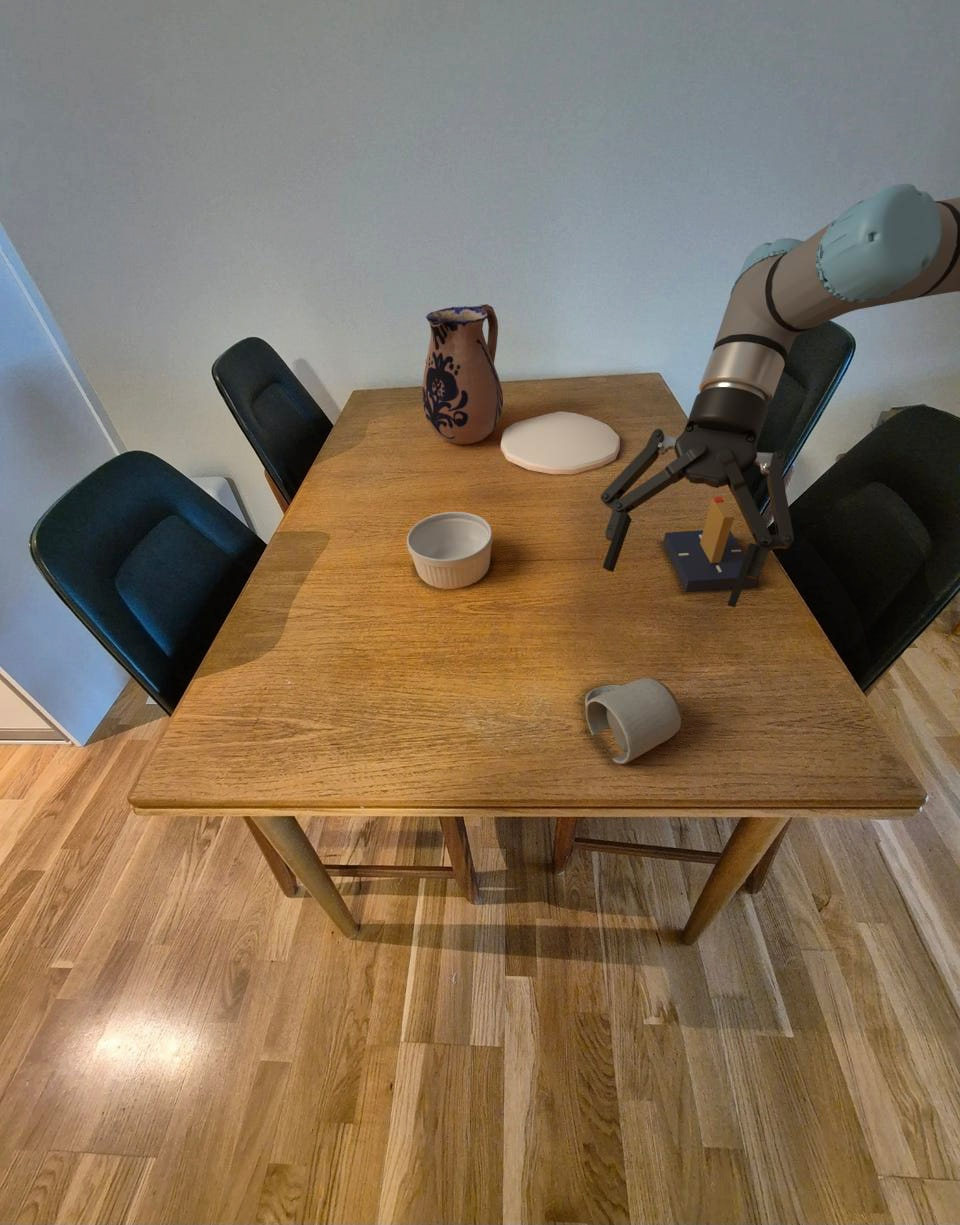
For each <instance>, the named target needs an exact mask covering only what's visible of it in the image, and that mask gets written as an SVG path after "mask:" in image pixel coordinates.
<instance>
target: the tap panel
mask: <svg viewBox="0 0 960 1225" xmlns="http://www.w3.org/2000/svg"><path fill="white" fill-rule="evenodd" d="M703 530H704V529H700V530H699V529H698V530H686V531H685V530H684V531H683V530H682V531H669V532H665V533H664V538H663V542H662V544H663V546H664V549H665V551H666V553H667V556H668V558H669V559H670V561H671V564H672V566H673V568H674V570H675V573H676V575H677V577H678V579H679V581H680V583H681V586H682V588H683V591H684V592H685V593H696V592H697V593H698V592H712V591H726V590H733V588H734V585H735V583H736V580H737V577H738V574H739V571H740V569H741V566H742V563H743V560H744V558H745V555H746V552H745V551H744V550H743V548H742V547H741V545H740V543H739V542H738V541H737V538H735V536H734V534H733V533H732V531H731V530H730V532H729V536H728V539H727V542H726V546H725V549H724V552H723V555H722V559H721V562H720V563H710V561H709V559H708V557H707V555H706V554H705V552H704V550H703V548H702V546H701V544H700V541H701V537H702V534H703ZM759 578H760V576H759V577H758V578H757V579H752V578H749V577H746V579H745V581H744V584H743V587H742V590H743V589H755V588H756V586H757V584H758V581H759Z"/></svg>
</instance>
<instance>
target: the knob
mask: <svg viewBox="0 0 960 1225" xmlns="http://www.w3.org/2000/svg"><path fill="white" fill-rule="evenodd" d="M734 519H735V515H734V514H733V513H732V511H731V509H730V508H729V506H728V505H727V504H726V502H725V500H724V499H723V497H722V496H715V497H711V500H710V504H709V507H708V511H707V515H706V519H705V522H704V527H703V529H702V530H703V534H702V537H701V541H700V544H701V546H702V548H703V550H704V552H705V554H706V555H707V557H708V559H709V561H710V563H720V562H721V559H722V555H723V552H724V549H725V546H726V542H727V539H728V536H729V532H730V531H731V529H732V525H733V522H734Z"/></svg>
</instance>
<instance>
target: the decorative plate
mask: <svg viewBox="0 0 960 1225" xmlns="http://www.w3.org/2000/svg"><path fill="white" fill-rule="evenodd" d="M620 443H621V437H620V436H619V435H618V433H617V432H615V431H614V430H613V428H611V427H610V425H608V424H606V423H605V422H602V421H600V420H598V419H596V418H593V417H590V416H587V415H583V414H580V413H577V412H576V413H575V412H568V411H562V410H560V411H556V412H551V413H546V414H542V415H538V416H535V417H531V418H528V419H524V420H521V421H516V422H515V423H512V424H511V425H510V426H507V427H506V428H505V429H504V430H503V431H502V436H501V441H500V451H501V452H502V453H503V455H504V457H505V459H506V461H507V462H510V463H513V464H515V465H517V466H519V467H522V468H524V469H526V470H528V471H534V472H540V473H544V474H551V475H575V474H579V473H583V472H586V471H590V470H594V469H598V468H601V467H603V466H605V465H608V464H610V463H611V462H614V461H615V460H616V459H617V456H618V454H619V452H620V447H621V446H620V445H621V444H620Z"/></svg>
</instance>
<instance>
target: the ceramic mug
mask: <svg viewBox="0 0 960 1225" xmlns="http://www.w3.org/2000/svg"><path fill="white" fill-rule="evenodd" d="M584 704H585V718H586V722H587V725H588V728H589V731H590V733H591V735H592V736H595V735H598V733H601V731H604V730H606V729H607V728H610V730H611V732H612V735H613V736H614V739H615V740H616V743H617V745H618V748H620V749H621V750H622V751H624V752H623V753H622V754H619V755H617V756H615V757H612V761H613V762H614V763H616V764H619V765H625V764H628V763H629V762H631V761H633V760H635V759H636V758H638V757H640V756H641V755H643V754H645V753H647V752H649V751H650V750H652V749H653V748H656V747H657V746H659V745H661V744H663V743H665V742H667V741H668V740H669V739H671V738H672V737H673V736H674V735H676V734H677V733H678V732H679V730H681V726H682V722H683V714H682V710H681V707H680V706H681V705H680V704H679V702H678V699H677V698H676V696H675V694H674V692H672V690H671V689H670V688H669V687H668V686H667V685H666V684H664V683H663V682H661V680H658V679H657V678H653V677H644V678H638V679H635V680H633V681H630V682H627V683H626V684H624V685H620V684H607V685H602V686H598V687H596V688H594V689H591V690H590V691H589V692H588V693H586V695H585V698H584Z"/></svg>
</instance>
